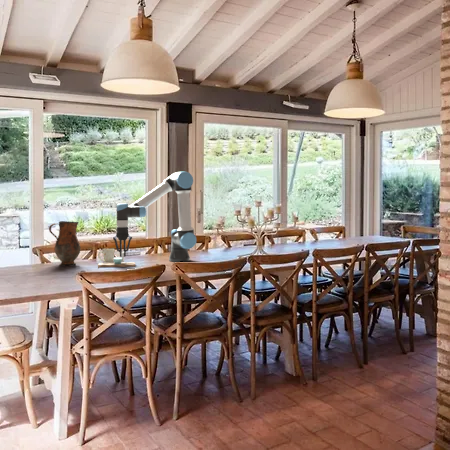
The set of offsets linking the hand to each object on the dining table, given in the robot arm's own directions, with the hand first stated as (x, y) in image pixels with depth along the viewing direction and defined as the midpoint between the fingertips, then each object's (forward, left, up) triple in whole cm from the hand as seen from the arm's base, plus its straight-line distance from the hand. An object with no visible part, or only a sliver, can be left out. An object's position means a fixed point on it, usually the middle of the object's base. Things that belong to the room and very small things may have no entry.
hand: (122, 261), depth 339 cm
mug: (+13, -19, -4) cm, 23 cm away
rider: (+3, 0, -3) cm, 4 cm away
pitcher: (+40, -13, -4) cm, 42 cm away
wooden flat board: (+4, 0, -4) cm, 5 cm away
